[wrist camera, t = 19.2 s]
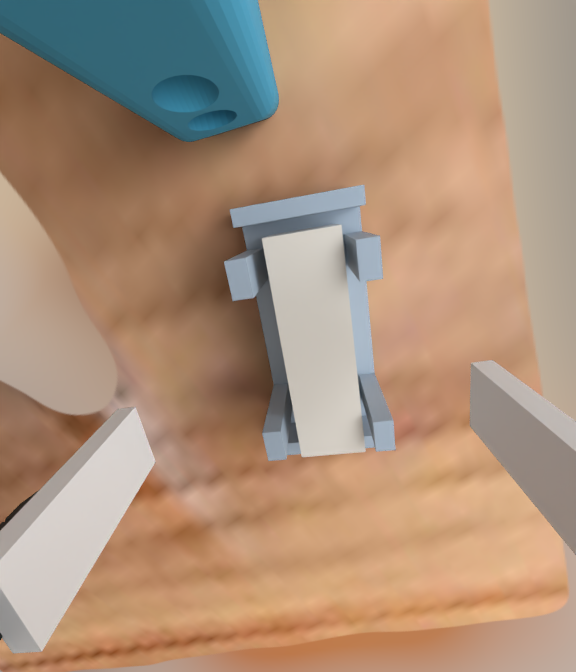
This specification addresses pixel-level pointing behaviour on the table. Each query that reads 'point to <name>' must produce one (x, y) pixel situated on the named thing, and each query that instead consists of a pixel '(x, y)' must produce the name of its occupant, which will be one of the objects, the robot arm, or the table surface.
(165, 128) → the block
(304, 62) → the table surface
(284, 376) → the rack
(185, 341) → the table surface
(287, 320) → the white rectangular bar
